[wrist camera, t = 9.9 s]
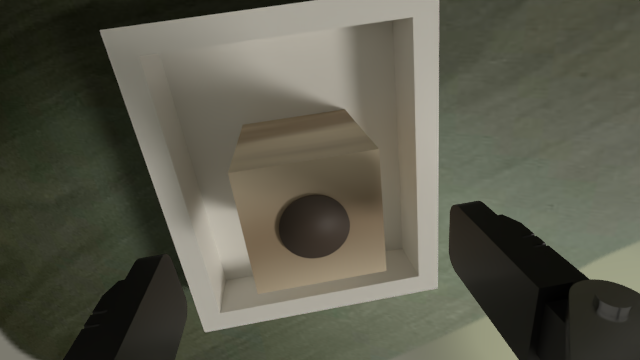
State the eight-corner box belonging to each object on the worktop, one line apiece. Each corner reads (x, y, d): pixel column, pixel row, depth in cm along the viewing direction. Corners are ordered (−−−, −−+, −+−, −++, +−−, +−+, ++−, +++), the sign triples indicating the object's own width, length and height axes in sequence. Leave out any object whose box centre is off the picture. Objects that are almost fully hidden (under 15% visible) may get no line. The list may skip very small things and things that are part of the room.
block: (242, 124, 17) (227, 175, 11) (344, 109, 17) (380, 150, 11) (262, 215, 19) (257, 296, 13) (353, 199, 19) (387, 273, 13)
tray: (131, 29, 15) (99, 30, 12) (410, -10, 16) (439, -17, 13) (213, 291, 21) (204, 332, 18) (416, 254, 21) (437, 288, 19)
